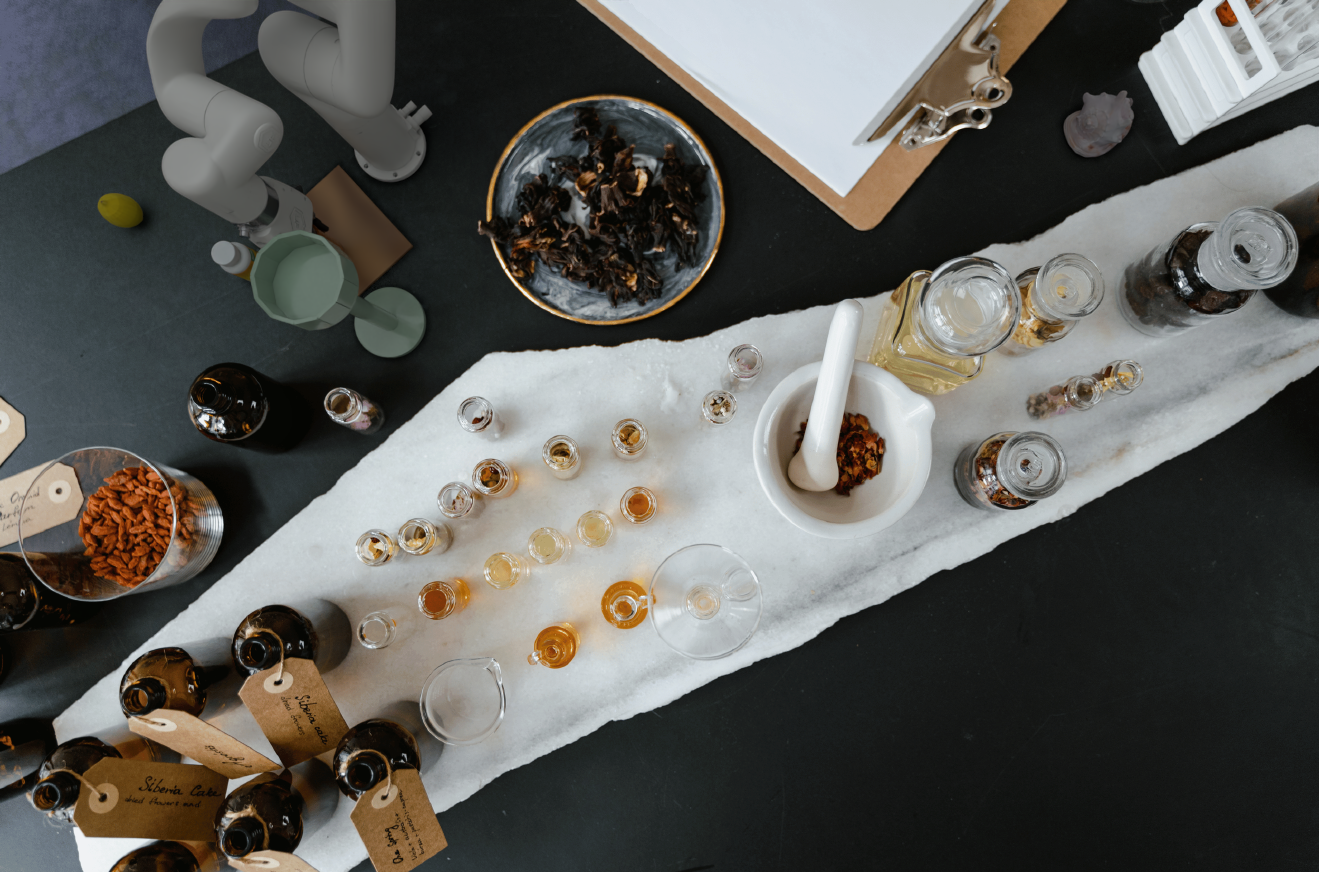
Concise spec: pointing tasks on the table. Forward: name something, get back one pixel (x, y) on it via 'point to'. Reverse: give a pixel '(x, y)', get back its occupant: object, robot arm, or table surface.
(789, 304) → the table surface
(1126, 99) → the seashell
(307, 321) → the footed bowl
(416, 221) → the table surface
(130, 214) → the fruit
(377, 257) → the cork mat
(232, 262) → the supplement bottle
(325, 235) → the amber bottle
